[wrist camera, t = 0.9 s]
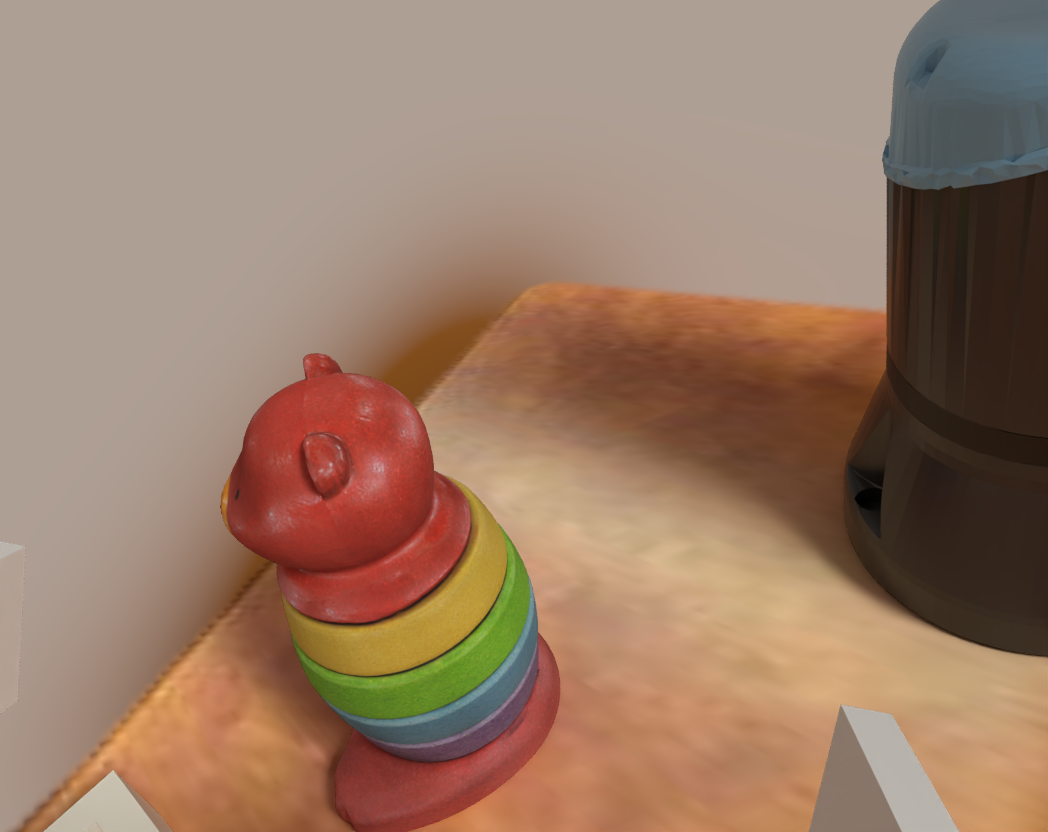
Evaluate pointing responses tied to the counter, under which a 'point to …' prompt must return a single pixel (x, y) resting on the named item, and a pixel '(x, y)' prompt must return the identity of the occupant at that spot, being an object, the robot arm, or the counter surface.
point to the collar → (111, 811)
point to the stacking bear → (393, 598)
